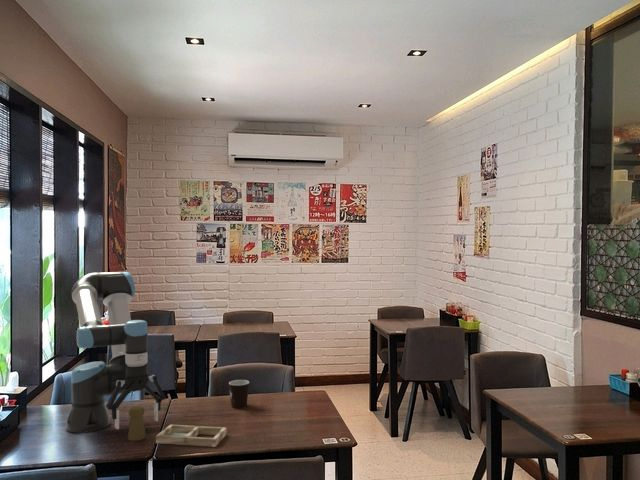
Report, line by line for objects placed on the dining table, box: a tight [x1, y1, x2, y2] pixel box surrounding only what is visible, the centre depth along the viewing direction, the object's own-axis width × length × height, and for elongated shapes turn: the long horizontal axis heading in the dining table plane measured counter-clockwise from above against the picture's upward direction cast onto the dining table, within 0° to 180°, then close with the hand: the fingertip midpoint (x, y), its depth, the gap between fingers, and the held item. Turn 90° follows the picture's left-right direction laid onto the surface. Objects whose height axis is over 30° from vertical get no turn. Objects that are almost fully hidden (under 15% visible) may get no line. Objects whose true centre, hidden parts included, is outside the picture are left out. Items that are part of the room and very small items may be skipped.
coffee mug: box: [228, 379, 250, 410], centre depth 221 cm, size 12×9×10 cm
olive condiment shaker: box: [127, 405, 146, 442], centre depth 185 cm, size 6×6×11 cm
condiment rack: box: [155, 423, 227, 448], centre depth 183 cm, size 11×22×2 cm, turn 81°
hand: (136, 424), depth 184 cm, fingers open, 13 cm apart
